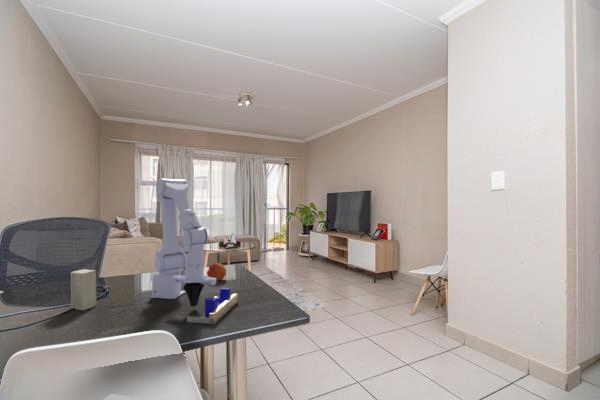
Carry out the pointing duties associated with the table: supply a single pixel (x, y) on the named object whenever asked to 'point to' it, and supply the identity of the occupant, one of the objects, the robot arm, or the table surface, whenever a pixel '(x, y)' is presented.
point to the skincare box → (83, 289)
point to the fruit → (216, 271)
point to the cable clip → (216, 301)
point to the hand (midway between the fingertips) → (194, 305)
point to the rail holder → (216, 311)
